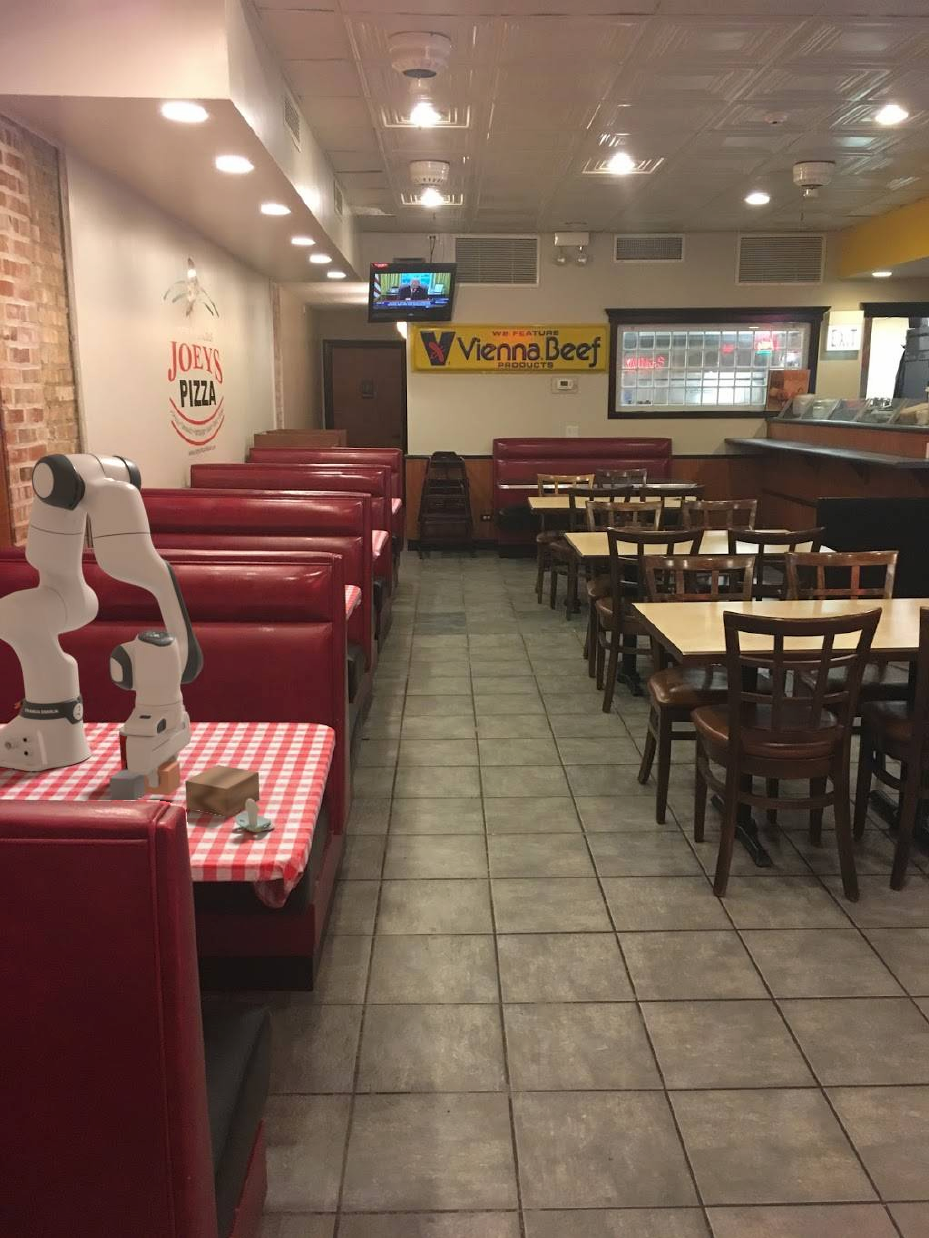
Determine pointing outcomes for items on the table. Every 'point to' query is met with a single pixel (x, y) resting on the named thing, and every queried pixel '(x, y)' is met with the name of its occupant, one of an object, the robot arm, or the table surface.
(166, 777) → the terracotta cube
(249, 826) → the pacifier
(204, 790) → the walnut block
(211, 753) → the table surface
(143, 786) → the gray metal cube
